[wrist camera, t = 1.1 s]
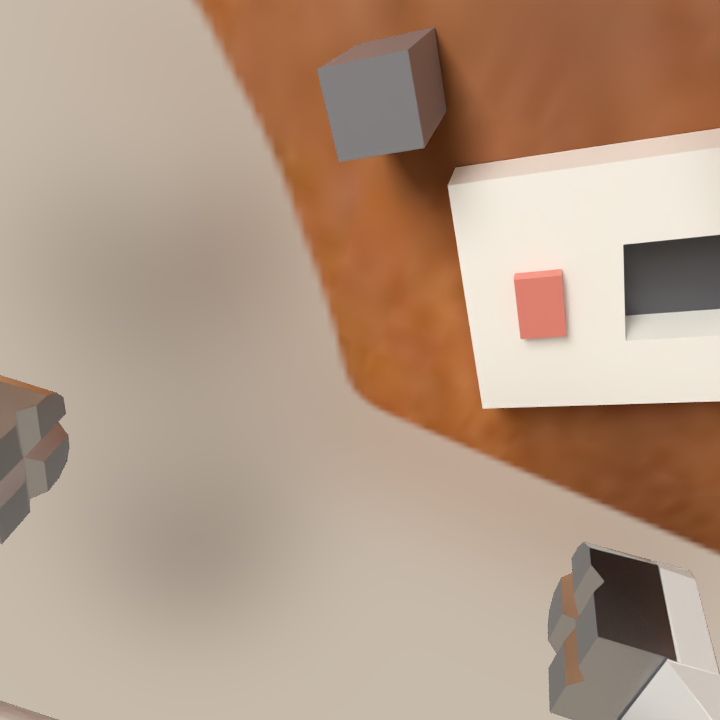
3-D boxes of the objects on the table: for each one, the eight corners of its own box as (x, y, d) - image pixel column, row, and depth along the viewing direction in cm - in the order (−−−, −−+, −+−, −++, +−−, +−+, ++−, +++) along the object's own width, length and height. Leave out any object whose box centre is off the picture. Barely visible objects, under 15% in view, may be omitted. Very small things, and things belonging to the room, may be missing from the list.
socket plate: (796, 116, 31) (821, 138, 28) (770, 368, 38) (788, 408, 35) (455, 167, 36) (445, 191, 33) (487, 380, 43) (481, 416, 40)
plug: (434, 26, 33) (407, 49, 27) (446, 110, 35) (424, 148, 29) (357, 43, 34) (316, 69, 28) (374, 123, 36) (338, 161, 30)
